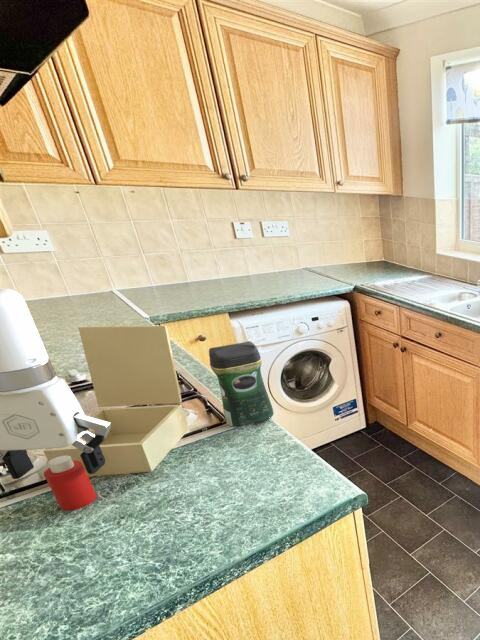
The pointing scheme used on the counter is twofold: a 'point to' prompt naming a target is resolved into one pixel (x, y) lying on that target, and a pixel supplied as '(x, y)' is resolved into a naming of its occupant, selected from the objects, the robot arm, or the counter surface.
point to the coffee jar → (241, 383)
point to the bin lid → (131, 365)
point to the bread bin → (133, 438)
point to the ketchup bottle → (69, 483)
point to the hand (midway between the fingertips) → (61, 471)
